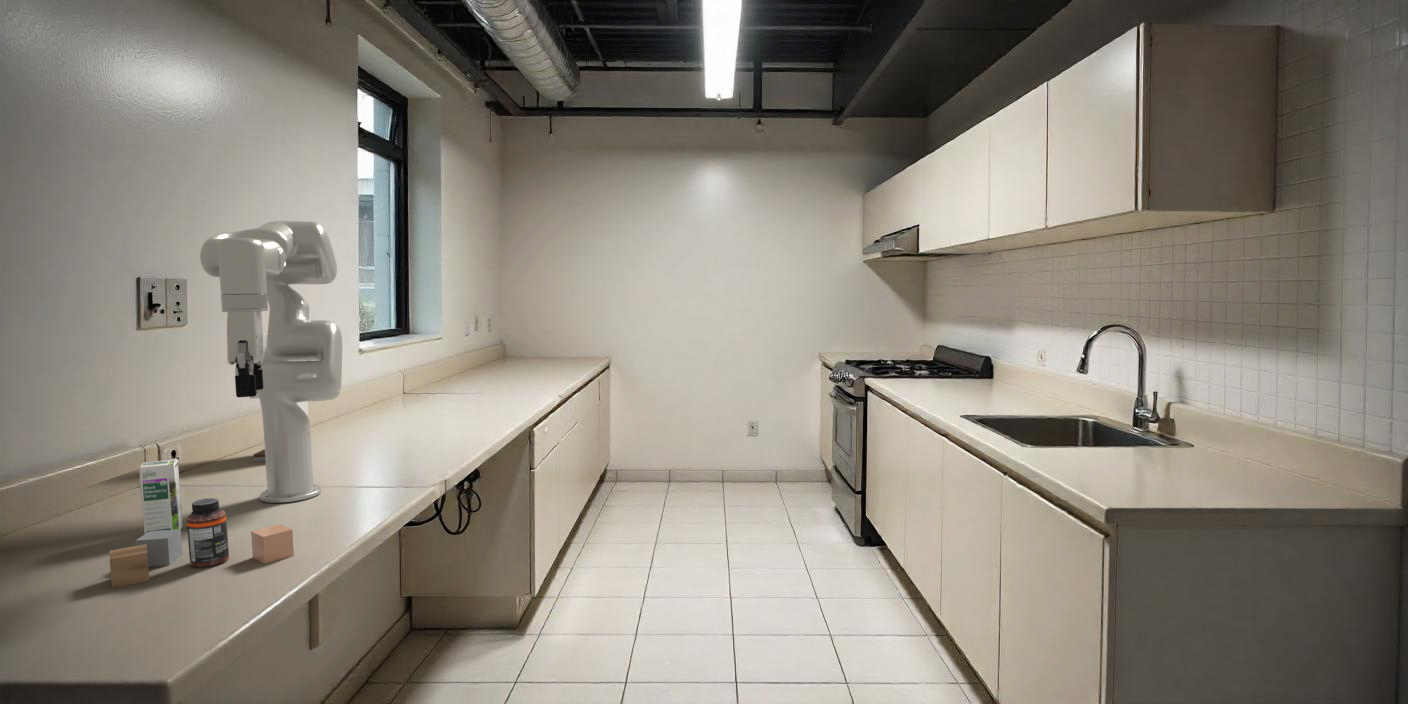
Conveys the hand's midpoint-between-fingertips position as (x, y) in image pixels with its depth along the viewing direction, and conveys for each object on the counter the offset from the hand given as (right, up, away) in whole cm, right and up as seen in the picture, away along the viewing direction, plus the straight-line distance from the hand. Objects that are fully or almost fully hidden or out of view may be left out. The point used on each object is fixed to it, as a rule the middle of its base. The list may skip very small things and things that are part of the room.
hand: (250, 393), depth 146 cm
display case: (-34, -22, +73) cm, 83 cm away
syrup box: (-21, -29, +6) cm, 36 cm away
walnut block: (-10, -31, -17) cm, 37 cm away
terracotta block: (+8, -30, -7) cm, 31 cm away
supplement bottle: (-2, -30, -9) cm, 32 cm away
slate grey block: (-11, -30, -9) cm, 33 cm away
